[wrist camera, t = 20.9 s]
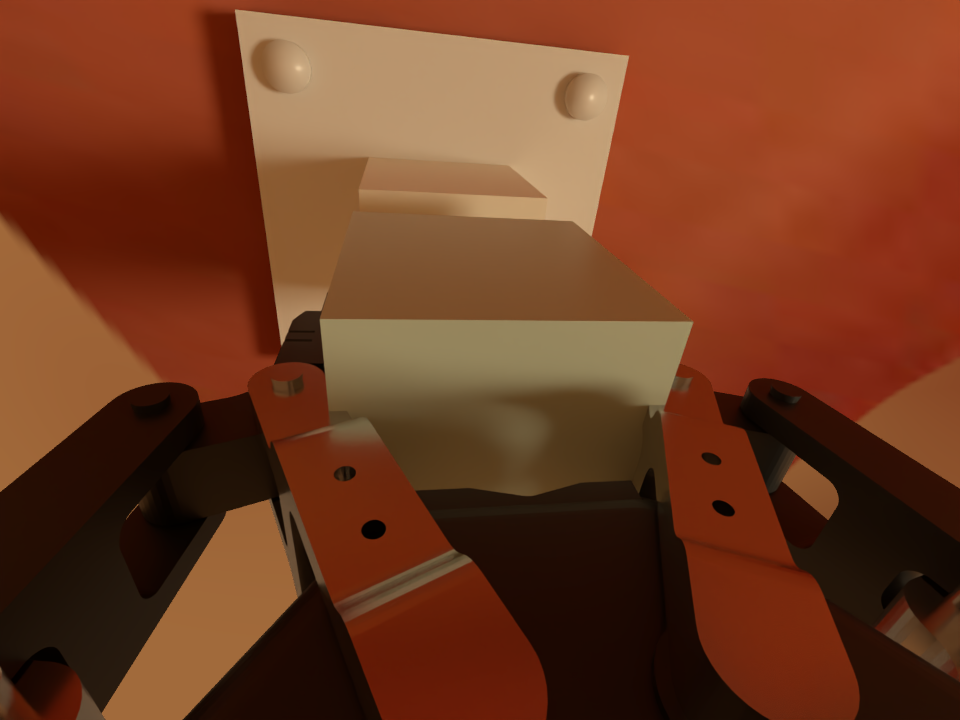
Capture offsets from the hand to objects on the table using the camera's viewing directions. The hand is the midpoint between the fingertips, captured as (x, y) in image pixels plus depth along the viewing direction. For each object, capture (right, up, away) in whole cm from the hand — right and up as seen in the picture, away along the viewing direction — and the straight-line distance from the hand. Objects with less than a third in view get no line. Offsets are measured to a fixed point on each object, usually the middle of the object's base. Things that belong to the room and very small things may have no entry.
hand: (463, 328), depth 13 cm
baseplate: (-2, +5, +9) cm, 10 cm away
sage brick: (0, 0, +1) cm, 1 cm away
